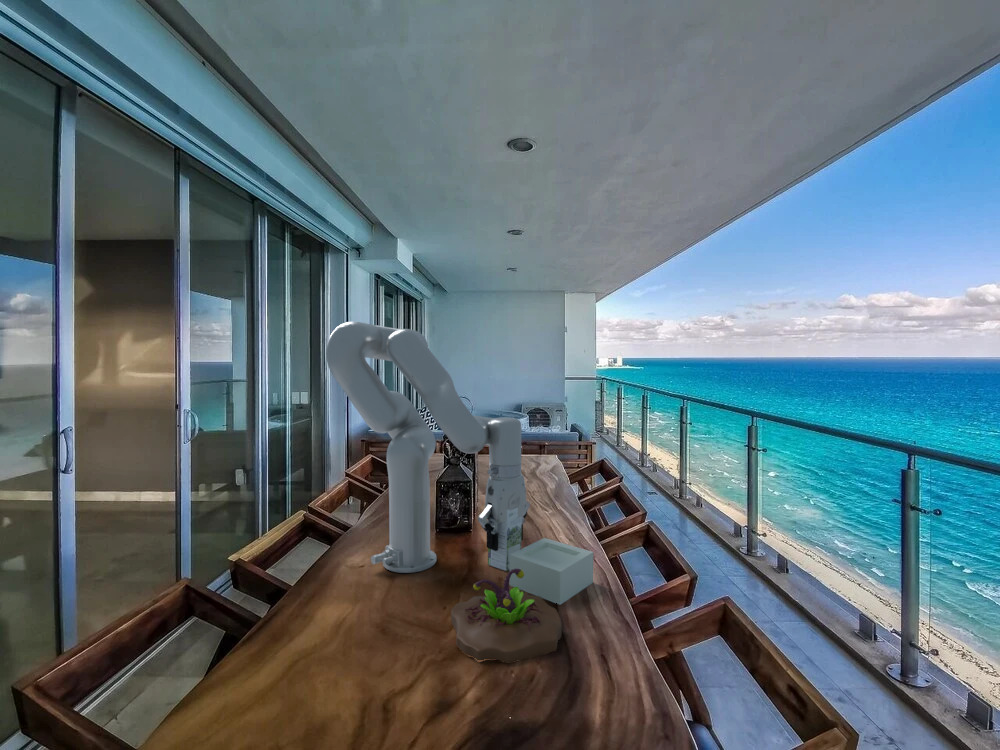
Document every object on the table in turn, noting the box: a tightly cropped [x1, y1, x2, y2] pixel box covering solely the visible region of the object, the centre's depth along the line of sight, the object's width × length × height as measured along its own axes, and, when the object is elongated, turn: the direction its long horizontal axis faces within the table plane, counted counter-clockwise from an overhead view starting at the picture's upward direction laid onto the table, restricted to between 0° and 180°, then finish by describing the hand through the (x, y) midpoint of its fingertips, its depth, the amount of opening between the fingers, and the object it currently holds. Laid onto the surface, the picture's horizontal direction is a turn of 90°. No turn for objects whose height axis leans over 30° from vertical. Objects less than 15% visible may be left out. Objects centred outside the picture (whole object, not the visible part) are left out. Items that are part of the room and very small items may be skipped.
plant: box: [450, 568, 563, 663], centre depth 91 cm, size 20×20×11 cm
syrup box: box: [487, 507, 522, 572], centre depth 118 cm, size 6×6×14 cm
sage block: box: [509, 537, 594, 606], centre depth 109 cm, size 13×13×7 cm
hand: (505, 543), depth 118 cm, fingers open, 7 cm apart
